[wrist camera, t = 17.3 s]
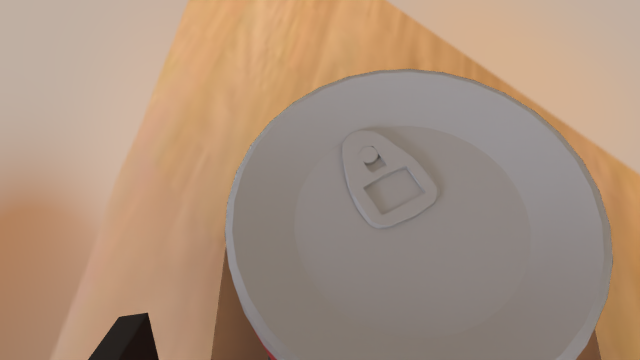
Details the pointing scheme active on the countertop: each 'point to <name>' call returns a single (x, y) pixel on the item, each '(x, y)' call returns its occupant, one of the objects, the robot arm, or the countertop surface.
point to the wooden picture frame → (246, 349)
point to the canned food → (417, 226)
